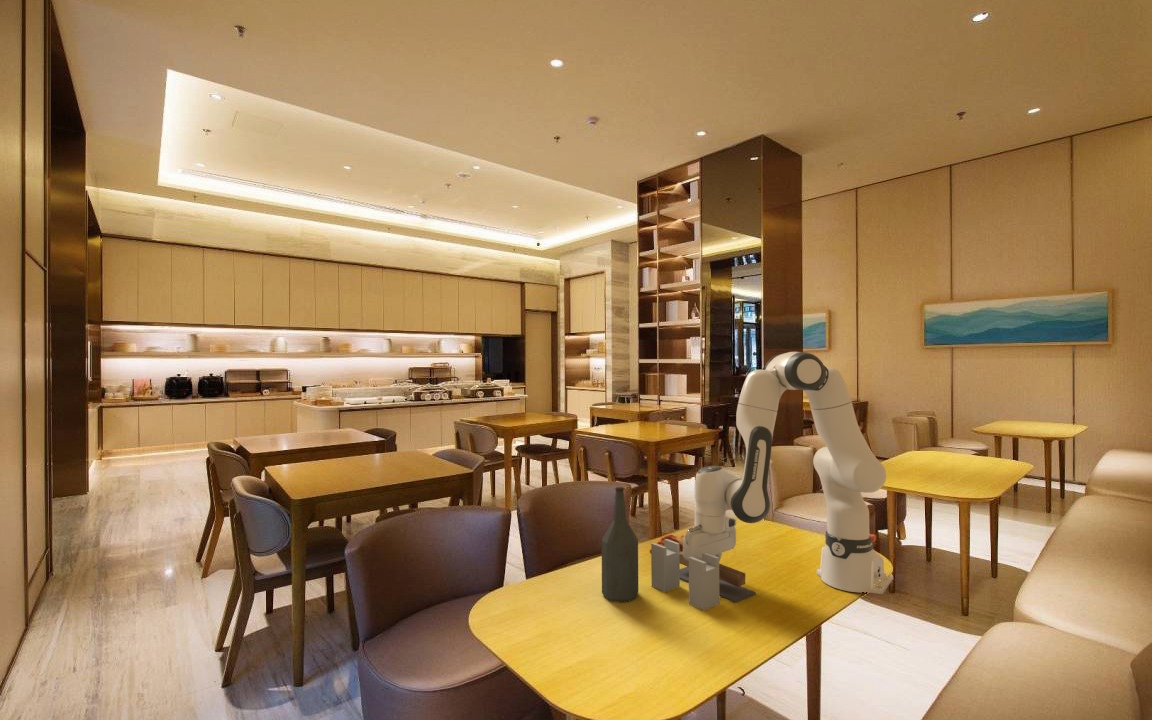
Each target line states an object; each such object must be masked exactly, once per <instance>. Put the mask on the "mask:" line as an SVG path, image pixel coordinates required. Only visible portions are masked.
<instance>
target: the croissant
mask: <svg viewBox="0 0 1152 720" xmlns="http://www.w3.org/2000/svg"><path fill="white" fill-rule="evenodd" d="M684 537H685V535H684V534H682V535H680V536H679V535H677V534H675V533H670V534H666V535H664V536H662V537H661V539H660V541H657V543H656V544H659V545H661V546H664V539H668V540H671V541H674V542H677V543H679V552H681V551H683V543H684ZM649 554H651V549H649Z"/></svg>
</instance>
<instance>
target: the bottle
mask: <svg viewBox="0 0 1152 720" xmlns="http://www.w3.org/2000/svg"><path fill="white" fill-rule="evenodd" d="M614 489H615V496H614V509H613V519H612V521H611V523H610V525H609V527H608V528H607V530H606V532H605V534H604V535H603V537H602V539H601V593H602V595H603V597H605V598H606V599H607V600H608V601H611V602H615V601H616V602H618V603H628V602H631V601H632V600H636V598H637V597H638V594H639V538H638V537H637V534H636V533H635V531H634V530H633V528H632V527H631V525H630V523H629V522H628V520H627V514H626V513H627V512H626V504H625V503H626V502H625V494H624V489H625V488H624V486H616V487H615V488H614Z"/></svg>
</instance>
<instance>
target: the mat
mask: <svg viewBox="0 0 1152 720" xmlns="http://www.w3.org/2000/svg"><path fill="white" fill-rule="evenodd" d="M680 581H682V582H685V583H688V584H689V567H687V566H684V567H682V568H680ZM756 595H757V592H756V591H753V590H751V589H749V588H747V587H744V586H740V587H737V586H734V585H732V584H729V583H727V582H724V581H722V580H719V598H723V599H725V600H728V601H730V602H732V603H734V604H738V603H740V602H743V601H744V600H747V599H749V598H751V597H753V596H756Z"/></svg>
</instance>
